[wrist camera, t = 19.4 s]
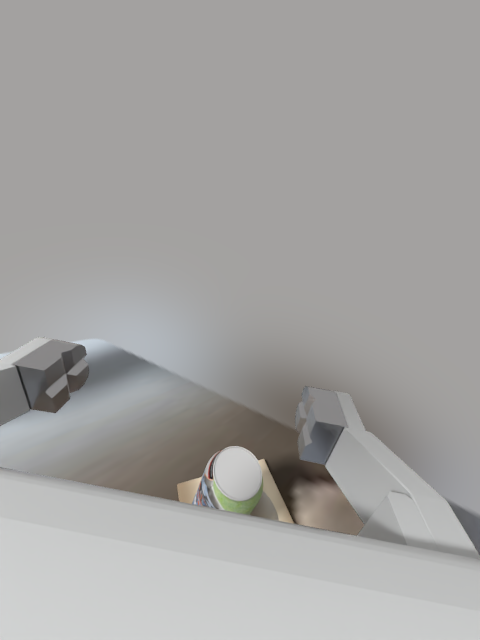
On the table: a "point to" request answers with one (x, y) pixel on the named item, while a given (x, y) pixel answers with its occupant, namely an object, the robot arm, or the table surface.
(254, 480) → the beverage can
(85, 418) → the table surface
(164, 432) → the table surface
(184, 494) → the birch mat
